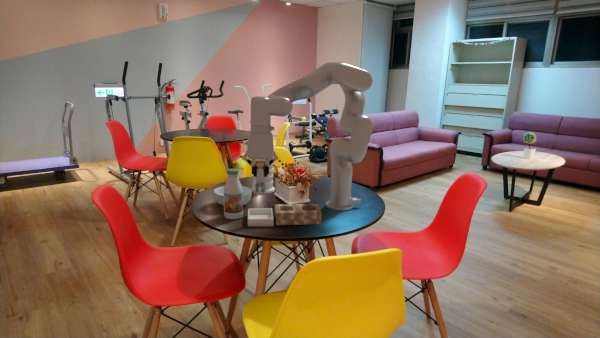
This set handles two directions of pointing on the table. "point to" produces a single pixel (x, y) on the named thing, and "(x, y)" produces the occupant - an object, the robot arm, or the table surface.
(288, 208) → the socket block
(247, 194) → the cereal bowl
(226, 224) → the table surface
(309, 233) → the table surface
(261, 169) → the pin
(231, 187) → the milk bottle
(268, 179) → the decorative container
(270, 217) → the tray
